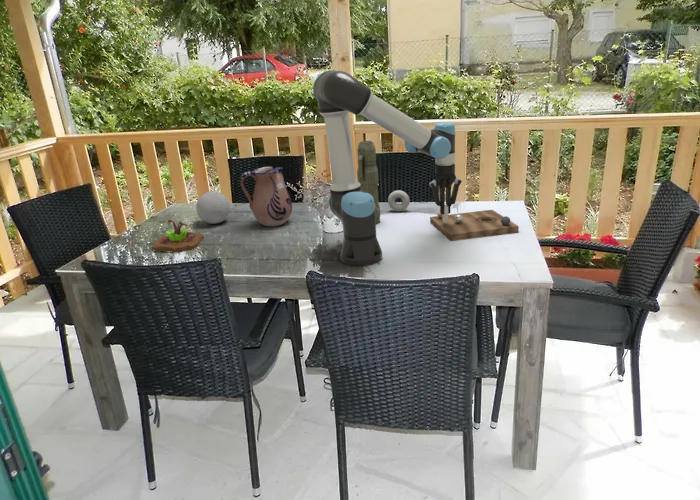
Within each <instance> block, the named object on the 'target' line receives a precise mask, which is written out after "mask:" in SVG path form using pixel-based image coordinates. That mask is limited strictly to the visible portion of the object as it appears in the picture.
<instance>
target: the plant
mask: <svg viewBox="0 0 700 500" xmlns="http://www.w3.org/2000/svg"><path fill="white" fill-rule="evenodd" d="M170 224H173V229H172V230H171V231H168V230H166V231H165V233H166V235H162V237H160V238H158V239H156V240H155V241H154V242H153V243H152V247H151V248H152V251H153V250H155V251H172V252H171V253H173V252H176V253H183V252H182V251H184V252H186V251H193V250H195V249H194V248H196V247H198V246H199V247H200V245H201V243H202V242H203V241H204V240H205V236H204V234H203V233H201V232H199V231H198V232H192V231H190V229H189V227H190V226H189V225H188V224H186V223H184V222H183V221H179V222H178V223H177V224H176V223H175V221H173V220H171V219H168V220H166V225H170ZM182 226H184V228H182ZM185 229H186V230H185ZM203 239H204V240H203ZM202 240H203V241H202ZM201 241H202V242H201ZM200 242H201V243H200ZM199 244H200V245H199ZM199 247H198V248H199ZM188 249H189V250H188ZM192 249H193V250H192ZM196 249H197V248H196ZM185 250H186V251H185Z"/></svg>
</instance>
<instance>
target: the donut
mask: <svg viewBox="0 0 700 500" xmlns="http://www.w3.org/2000/svg"><path fill="white" fill-rule="evenodd" d="M398 198H399V199H401V201H402V202H401V203H399V204H398V203H397V201H396V199H398ZM387 204H388V206H389V208H390V209H392V211H394V212H403V211H405V210H407V209H408V207H409V205H410V196H409V195H408V194H407V193H406V192H405V191H403V190H400V189H398V190H393V191H392V192H391V193H390V194H389V196H388V198H387Z"/></svg>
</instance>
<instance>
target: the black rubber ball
mask: <svg viewBox="0 0 700 500" xmlns="http://www.w3.org/2000/svg"><path fill="white" fill-rule="evenodd" d="M510 221H511V218H510V217H509V216H503V218H502V219H501V223H502V224H503V225H508V224H509V223H510Z"/></svg>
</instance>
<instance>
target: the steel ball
mask: <svg viewBox="0 0 700 500" xmlns="http://www.w3.org/2000/svg"><path fill="white" fill-rule="evenodd" d="M454 221H455V222H456V223H461V222H462V221H463V217H462V216H461V215H456V216H455V217H454Z"/></svg>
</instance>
